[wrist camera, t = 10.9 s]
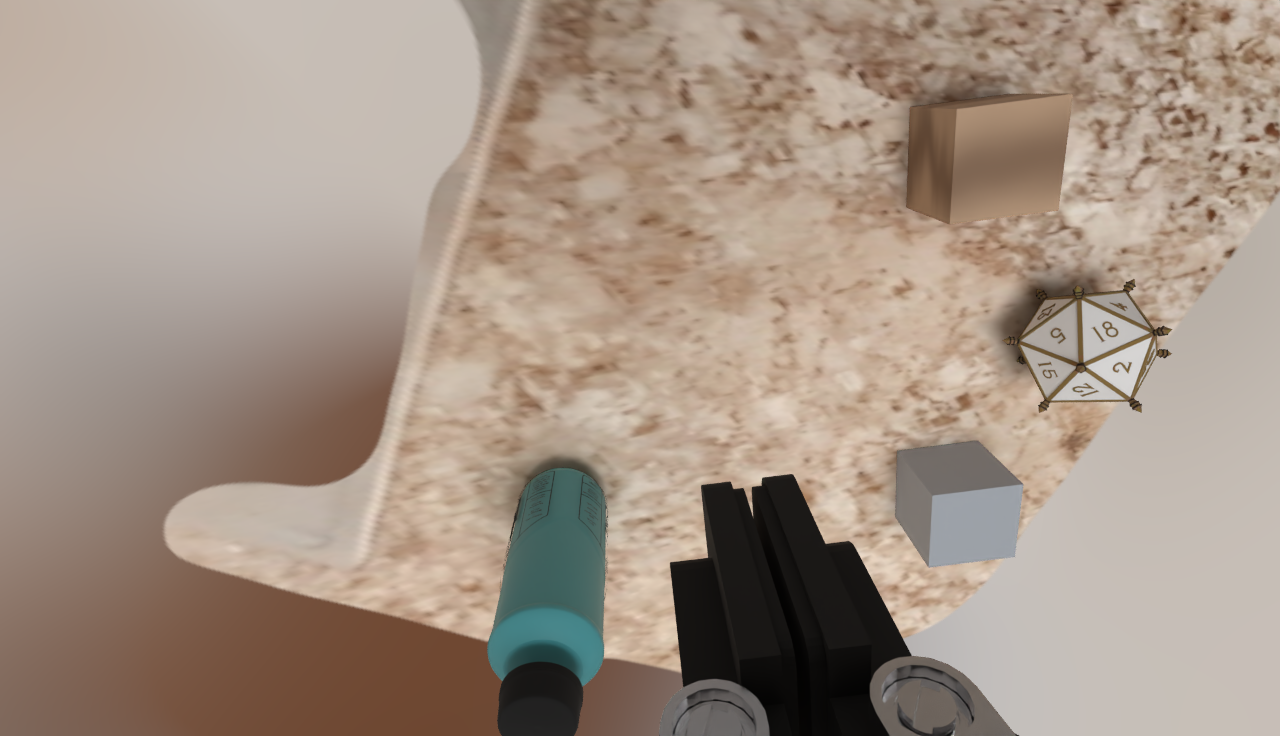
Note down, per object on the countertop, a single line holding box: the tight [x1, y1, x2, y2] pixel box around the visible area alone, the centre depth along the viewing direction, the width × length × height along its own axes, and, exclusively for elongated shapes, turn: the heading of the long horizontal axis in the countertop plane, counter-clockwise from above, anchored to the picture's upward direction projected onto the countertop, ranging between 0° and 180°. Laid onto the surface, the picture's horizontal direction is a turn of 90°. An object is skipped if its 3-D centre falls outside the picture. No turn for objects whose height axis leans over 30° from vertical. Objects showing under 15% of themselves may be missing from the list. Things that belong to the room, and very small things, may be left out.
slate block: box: [895, 441, 1023, 567], centre depth 47 cm, size 6×6×6 cm
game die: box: [1003, 279, 1172, 413], centre depth 41 cm, size 9×8×10 cm
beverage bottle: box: [487, 468, 608, 736], centre depth 40 cm, size 6×7×20 cm
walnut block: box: [906, 94, 1073, 224], centre depth 38 cm, size 6×6×6 cm
